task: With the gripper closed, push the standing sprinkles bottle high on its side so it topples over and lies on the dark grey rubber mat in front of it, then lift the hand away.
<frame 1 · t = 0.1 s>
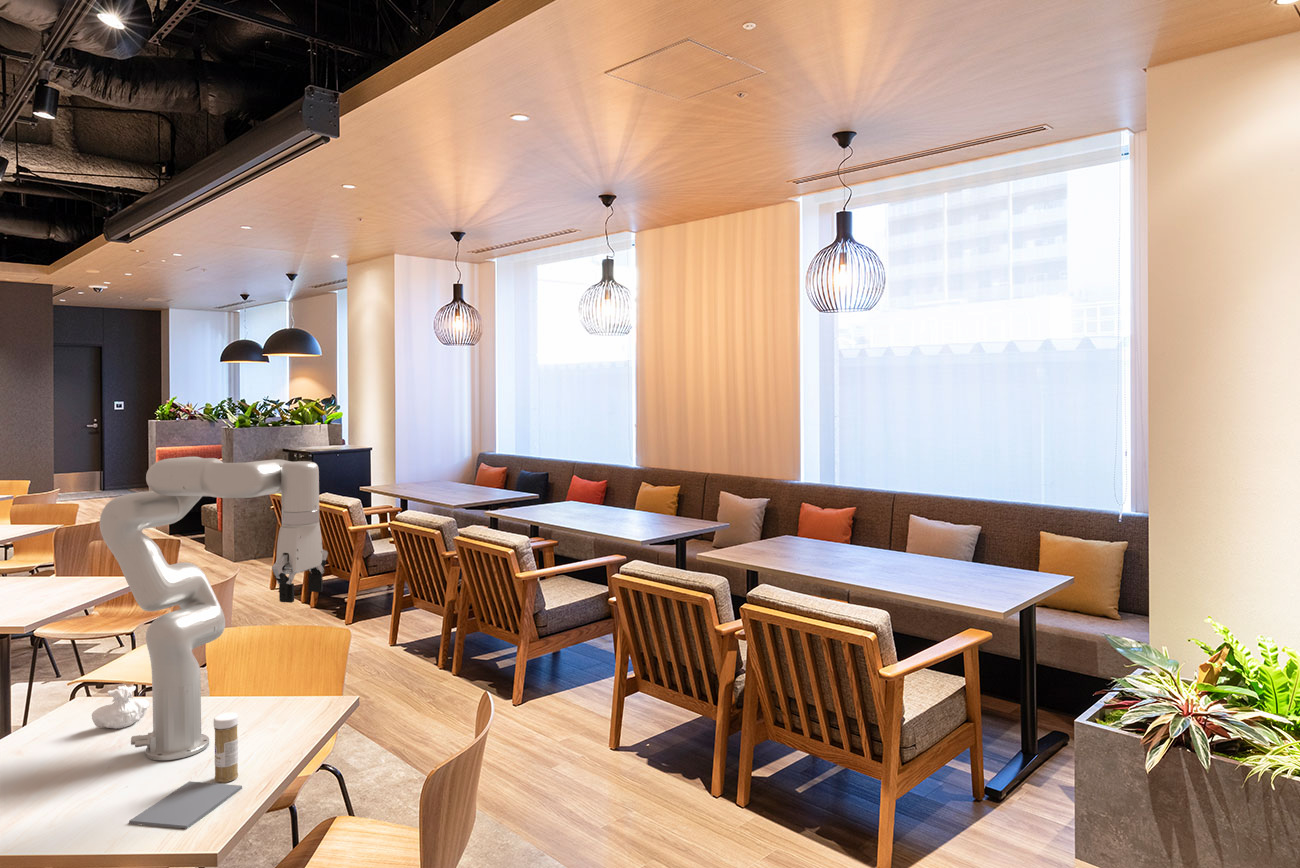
hand: (301, 596, 177), 37 cm above the table, tool pointing down, fingers open, 9 cm apart
sprinkles bottle: (226, 779, 171), on the table
white tied bag: (121, 726, 198), on the table
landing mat: (188, 805, 160), on the table
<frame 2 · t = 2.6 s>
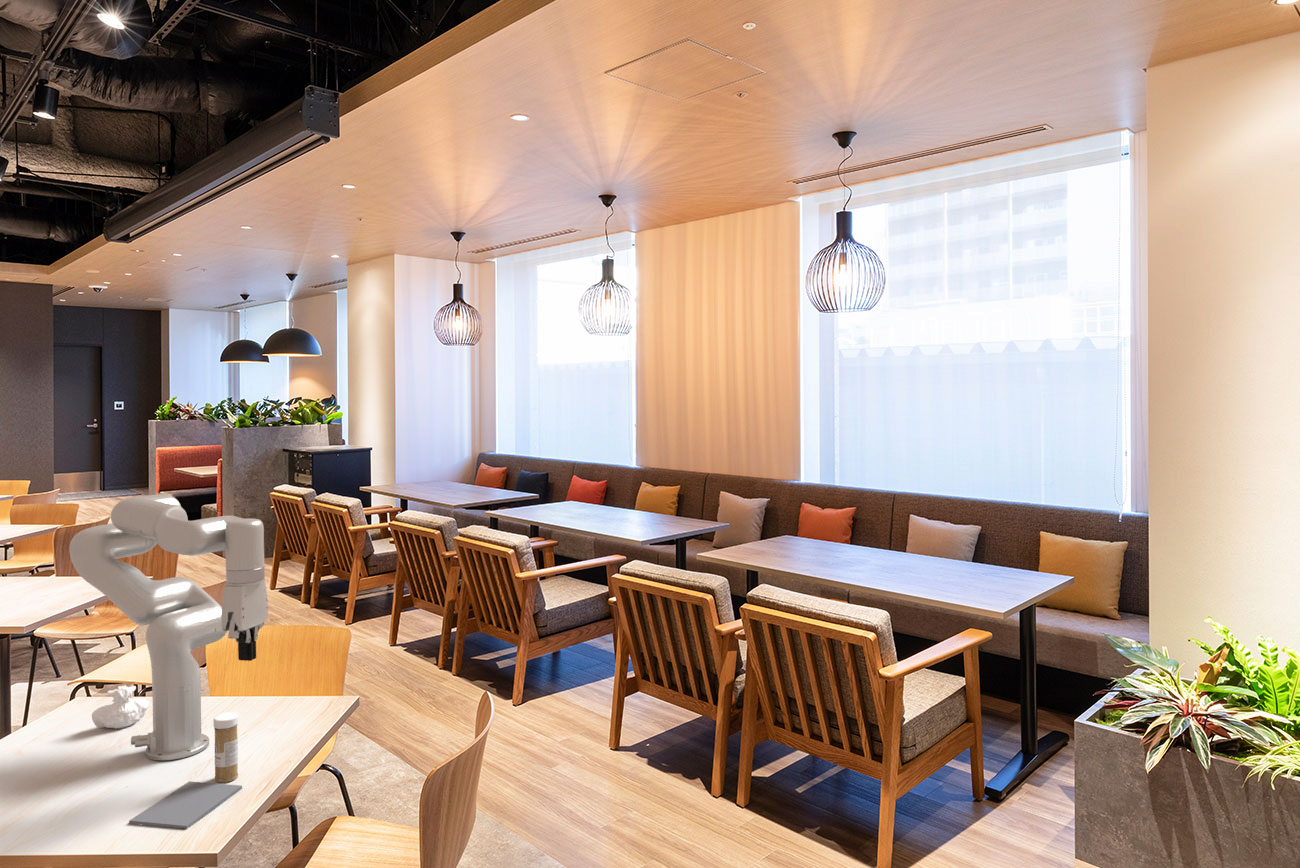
hand: (247, 659, 177), 23 cm above the table, tool pointing down, fingers closed
nothing on the table moved.
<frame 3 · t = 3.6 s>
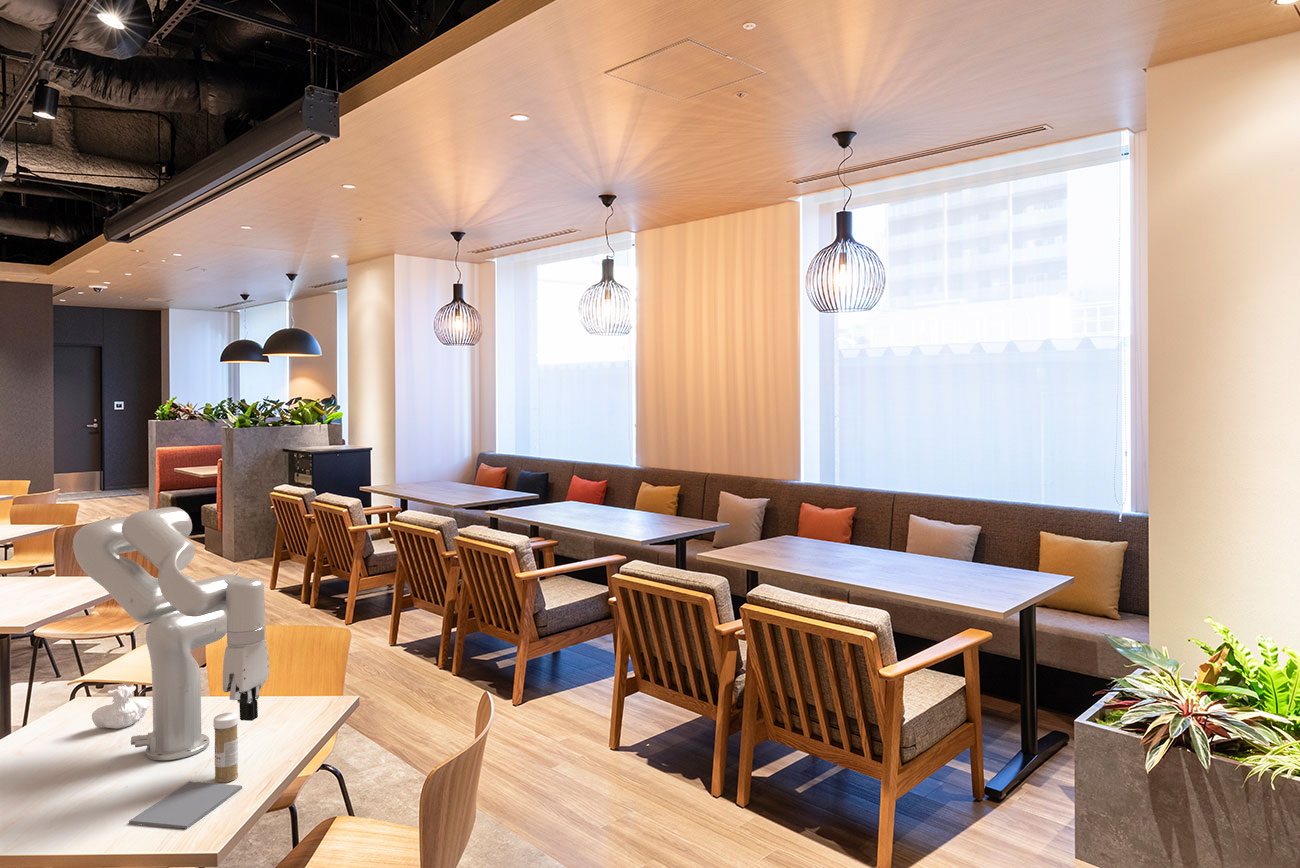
hand: (248, 718, 178), 10 cm above the table, tool pointing down, fingers closed
nothing on the table moved.
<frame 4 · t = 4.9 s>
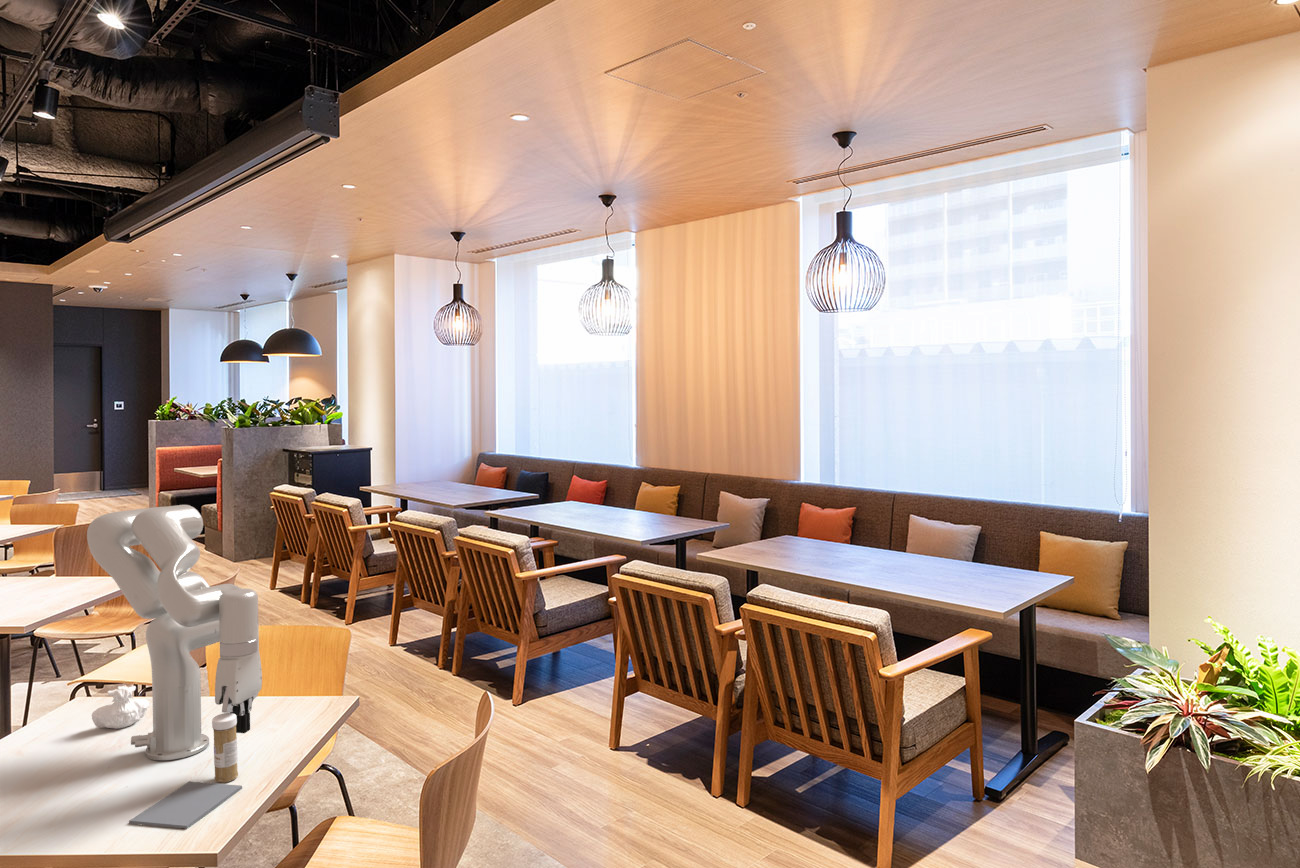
hand: (241, 731, 175), 8 cm above the table, tool pointing down, fingers closed
sprinkles bottle: (226, 779, 171), on the table, touching gripper
everything else where it was.
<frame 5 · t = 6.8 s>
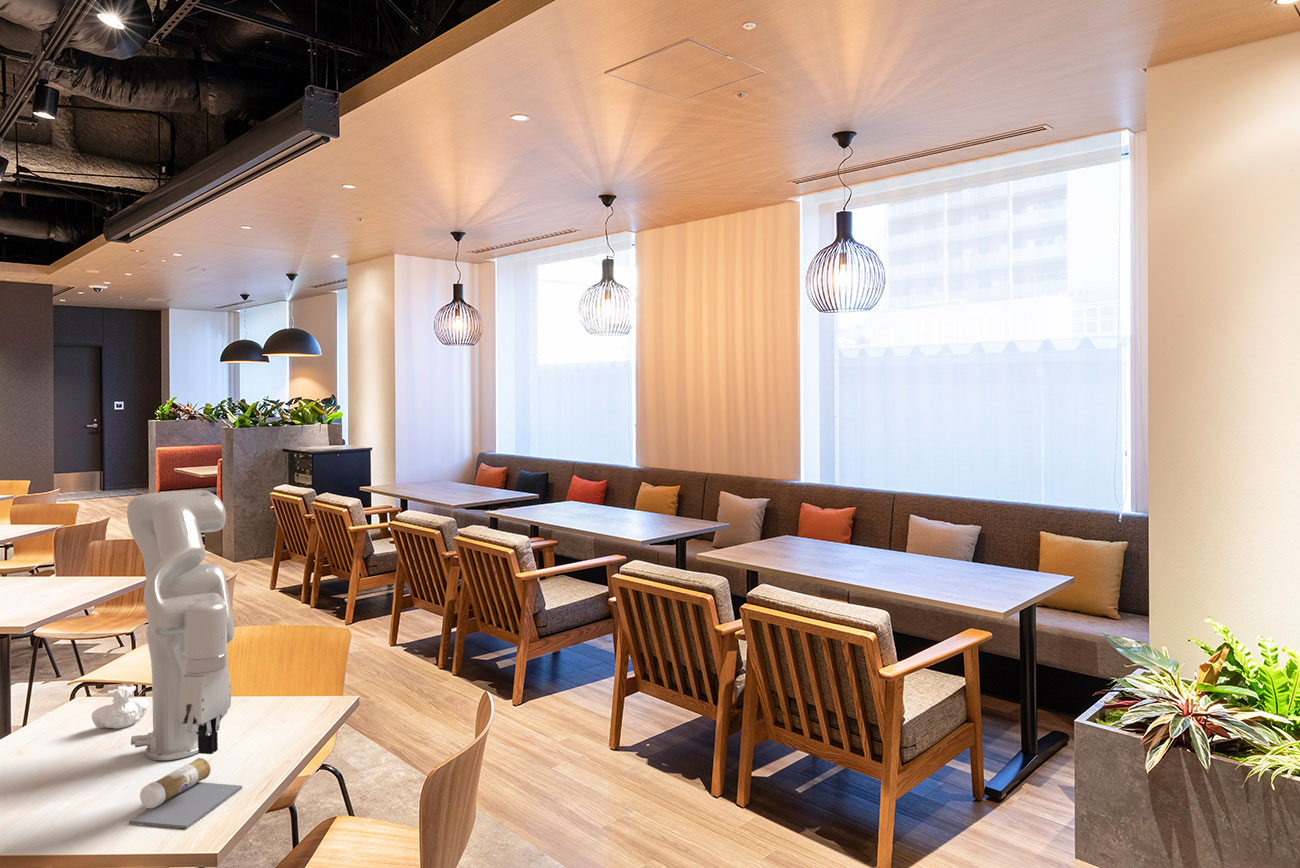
hand: (208, 752, 165), 8 cm above the table, tool pointing down, fingers closed
sprinkles bottle: (203, 767, 170), point 3 cm above the table, touching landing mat
everything else where it was.
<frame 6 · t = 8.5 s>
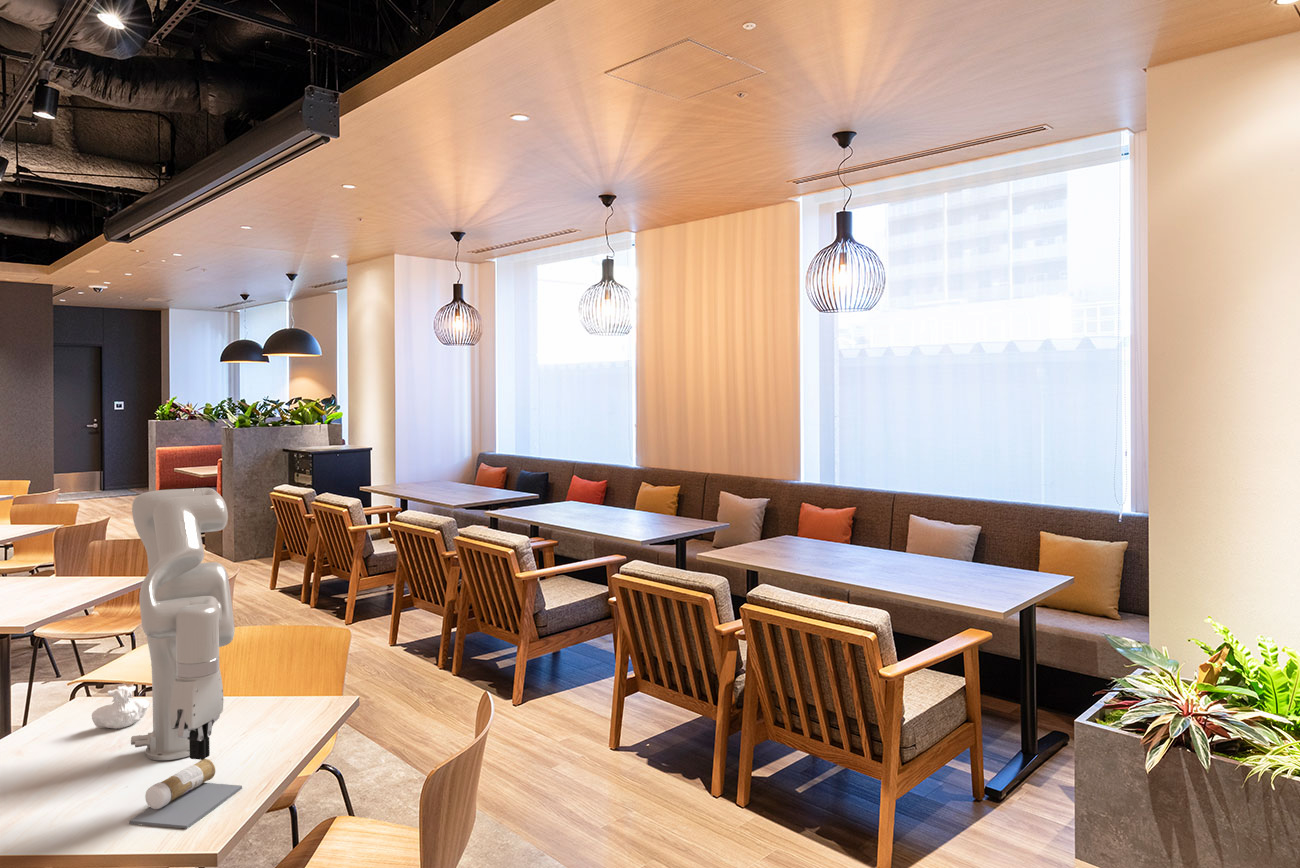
hand: (199, 757, 163), 8 cm above the table, tool pointing down, fingers closed
sprinkles bottle: (208, 768, 170), point 3 cm above the table, touching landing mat
everything else where it was.
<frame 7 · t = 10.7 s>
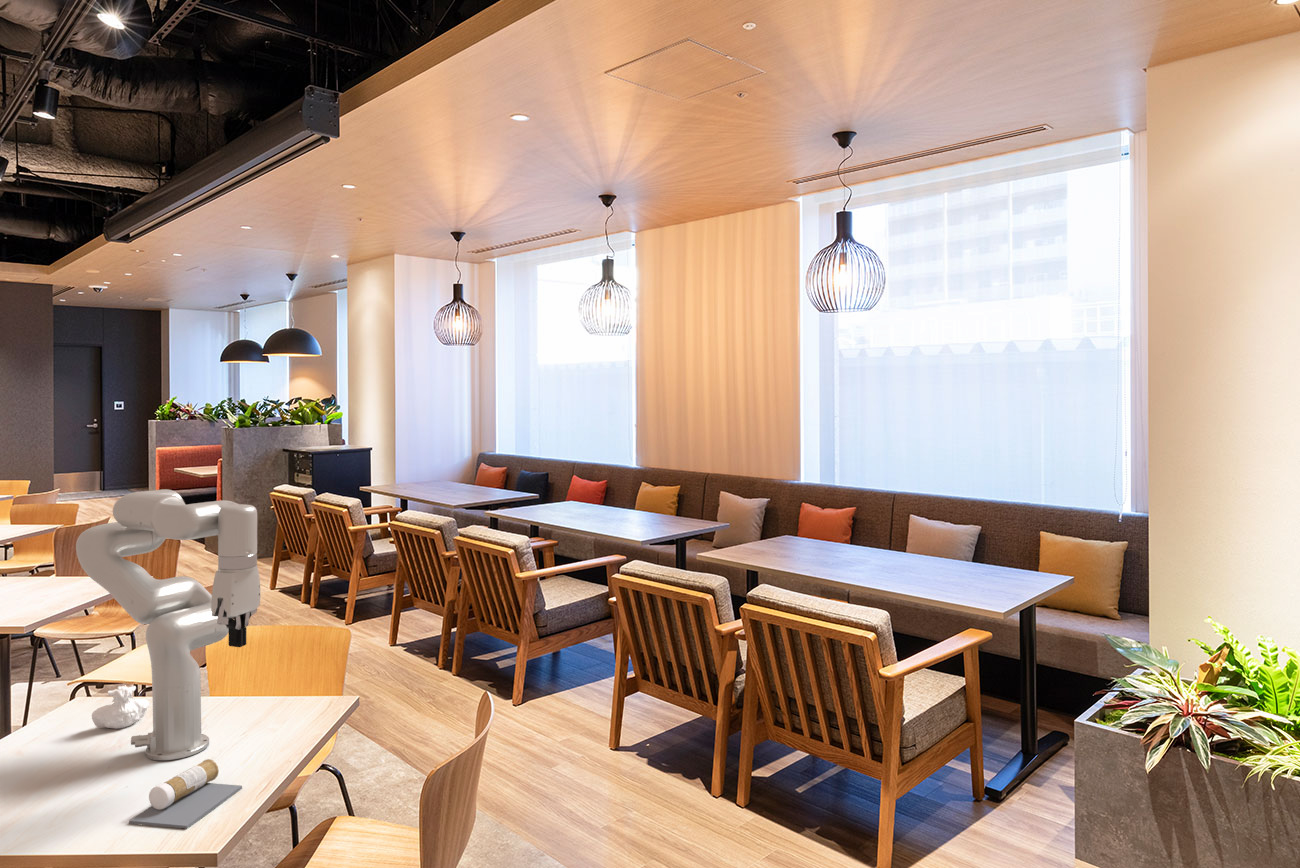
hand: (237, 645, 176), 27 cm above the table, tool pointing down, fingers closed
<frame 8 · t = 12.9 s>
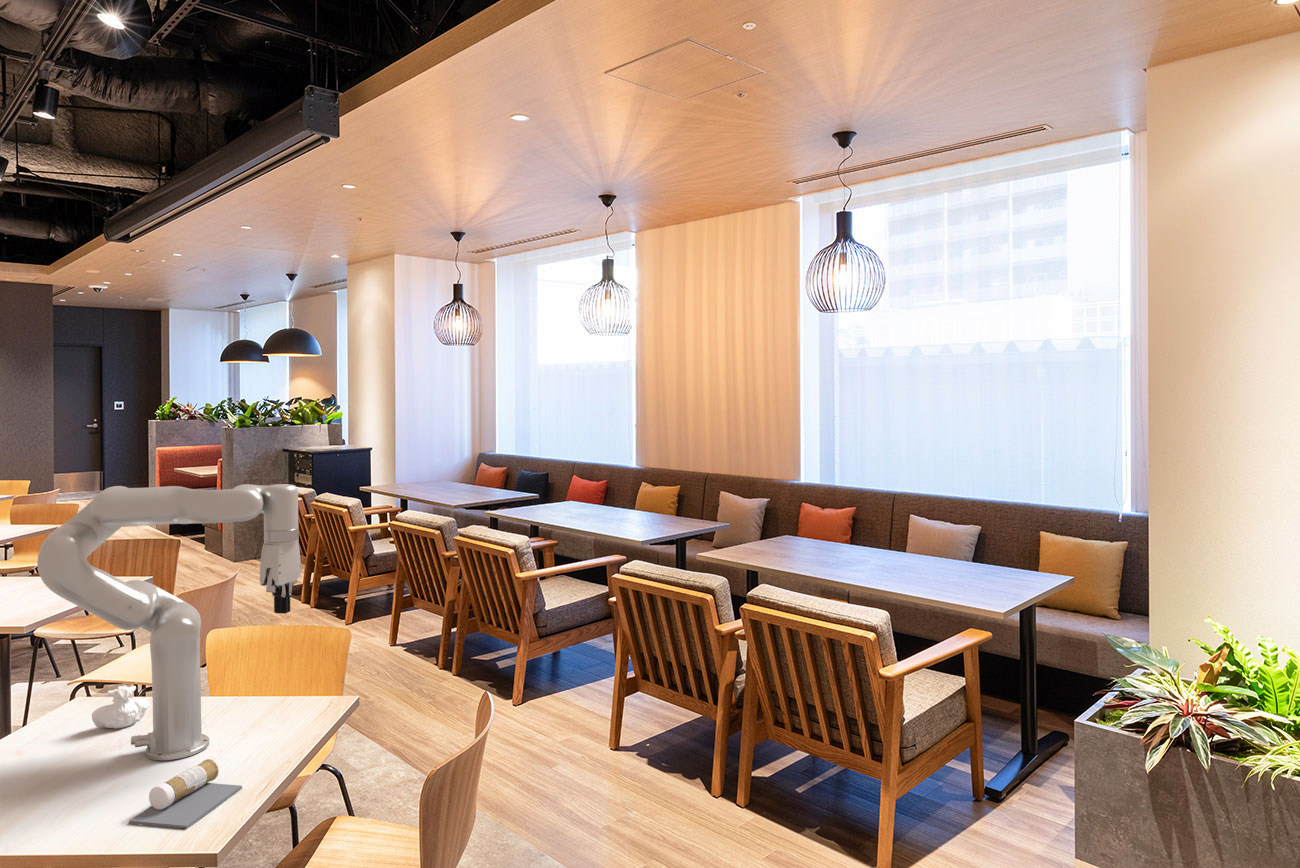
hand: (282, 612, 194), 29 cm above the table, tool pointing down, fingers closed
nothing on the table moved.
at the end: sprinkles bottle tilted 89°; sprinkles bottle touching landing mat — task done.
